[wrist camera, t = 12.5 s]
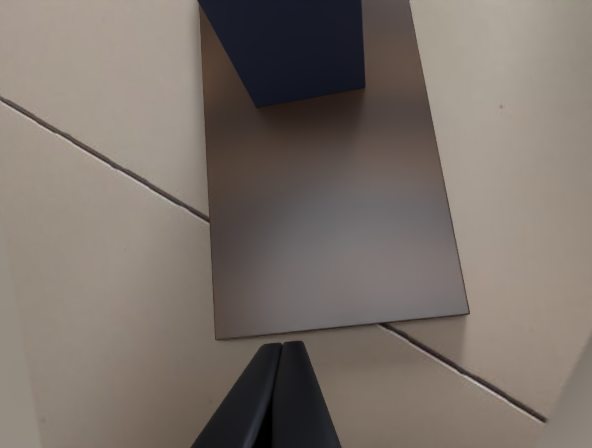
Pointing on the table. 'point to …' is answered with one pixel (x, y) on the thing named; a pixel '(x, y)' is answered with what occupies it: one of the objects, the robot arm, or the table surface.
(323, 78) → the navy box
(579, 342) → the table surface
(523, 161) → the table surface
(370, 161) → the walnut board
